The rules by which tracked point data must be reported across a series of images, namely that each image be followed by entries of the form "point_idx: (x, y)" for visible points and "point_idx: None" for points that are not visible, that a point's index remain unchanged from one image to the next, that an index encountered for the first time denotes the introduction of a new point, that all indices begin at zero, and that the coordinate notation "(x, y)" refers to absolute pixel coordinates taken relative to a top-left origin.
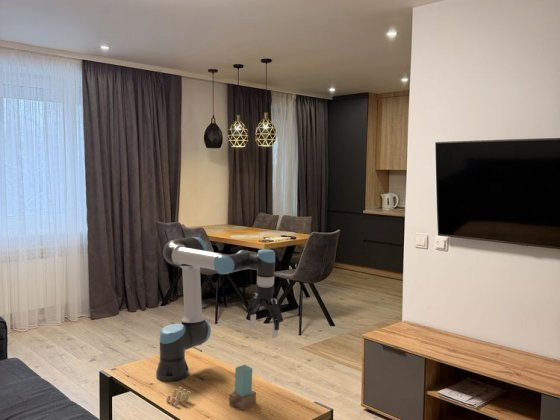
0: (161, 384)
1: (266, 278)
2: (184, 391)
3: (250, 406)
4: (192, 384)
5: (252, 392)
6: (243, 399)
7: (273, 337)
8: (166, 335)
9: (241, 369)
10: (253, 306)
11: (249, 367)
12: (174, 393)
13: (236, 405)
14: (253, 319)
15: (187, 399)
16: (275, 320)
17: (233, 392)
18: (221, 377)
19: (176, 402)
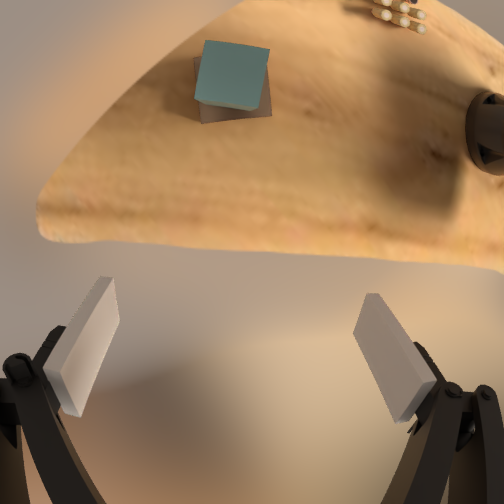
0: (478, 75)
1: None
2: (399, 16)
3: None
4: (433, 110)
5: (208, 113)
6: (200, 57)
7: (98, 279)
8: None
9: (229, 51)
10: (452, 469)
11: (214, 97)
12: (413, 8)
13: None
14: (392, 367)
15: (372, 9)
16: (14, 392)
17: (265, 71)
18: (401, 193)
19: None
